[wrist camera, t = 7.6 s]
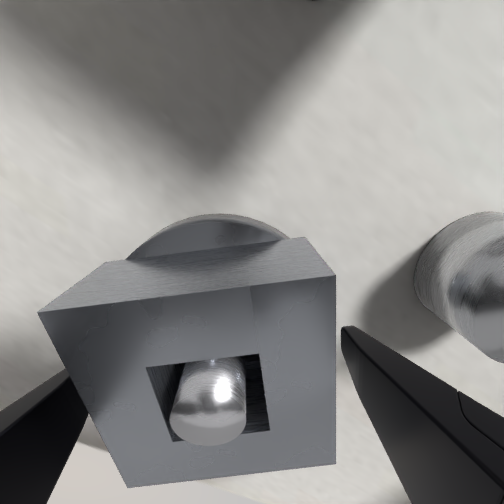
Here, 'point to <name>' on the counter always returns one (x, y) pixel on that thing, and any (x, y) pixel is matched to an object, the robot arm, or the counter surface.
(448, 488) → the robot arm
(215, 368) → the hub
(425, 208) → the counter surface
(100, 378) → the grey square ring block
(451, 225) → the threaded levelling foot
